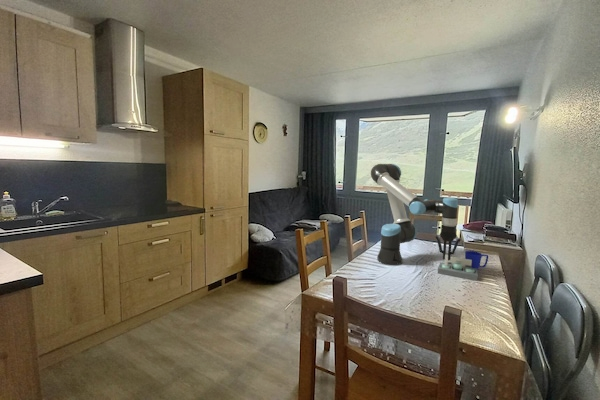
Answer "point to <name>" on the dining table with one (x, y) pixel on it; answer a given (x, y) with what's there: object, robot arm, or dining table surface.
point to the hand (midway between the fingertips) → (446, 265)
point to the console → (458, 272)
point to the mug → (475, 258)
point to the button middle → (457, 266)
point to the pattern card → (460, 261)
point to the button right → (469, 270)
